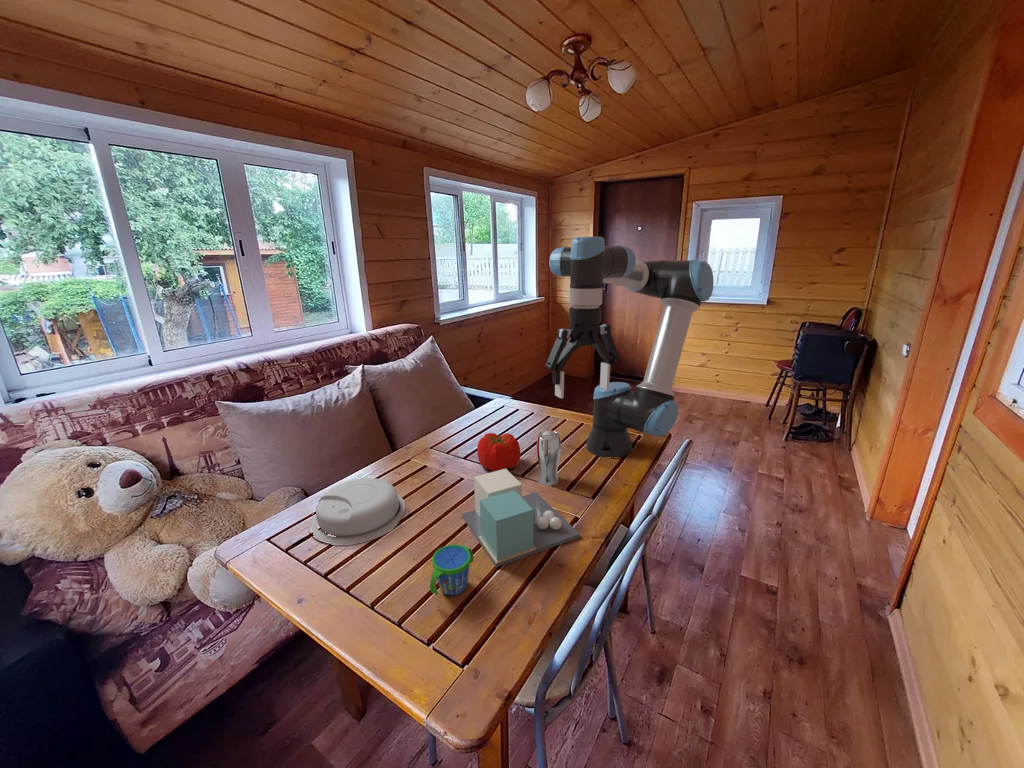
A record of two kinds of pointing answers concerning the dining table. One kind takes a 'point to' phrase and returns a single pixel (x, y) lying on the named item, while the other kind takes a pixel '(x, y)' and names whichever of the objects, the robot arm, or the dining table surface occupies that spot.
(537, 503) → the board
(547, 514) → the marble
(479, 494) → the ivory cuboid
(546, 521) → the marble
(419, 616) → the dining table surface
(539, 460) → the beer glass
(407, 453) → the dining table surface
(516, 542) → the seafoam cube
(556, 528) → the marble
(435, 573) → the snack cup
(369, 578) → the dining table surface
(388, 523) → the round ceiling alarm
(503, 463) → the tomato
